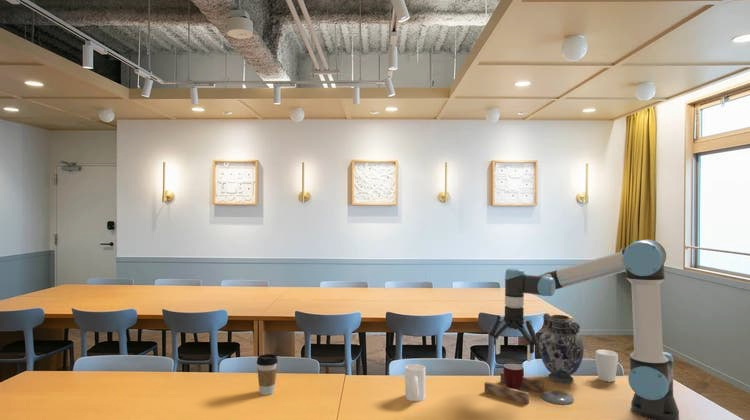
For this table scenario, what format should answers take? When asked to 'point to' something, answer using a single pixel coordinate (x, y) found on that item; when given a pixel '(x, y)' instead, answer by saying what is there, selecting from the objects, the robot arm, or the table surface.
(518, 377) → the mug
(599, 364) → the cup
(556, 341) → the decorative vase
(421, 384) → the mug
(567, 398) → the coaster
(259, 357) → the coffee cup
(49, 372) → the table surface
